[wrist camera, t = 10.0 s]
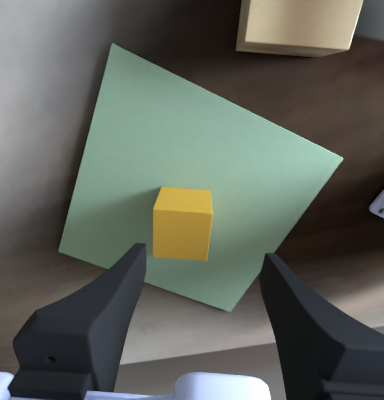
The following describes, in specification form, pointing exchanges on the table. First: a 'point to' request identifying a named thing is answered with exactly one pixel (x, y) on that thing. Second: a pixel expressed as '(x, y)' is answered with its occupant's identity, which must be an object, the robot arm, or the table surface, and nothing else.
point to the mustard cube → (182, 223)
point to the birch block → (297, 26)
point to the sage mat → (187, 179)
